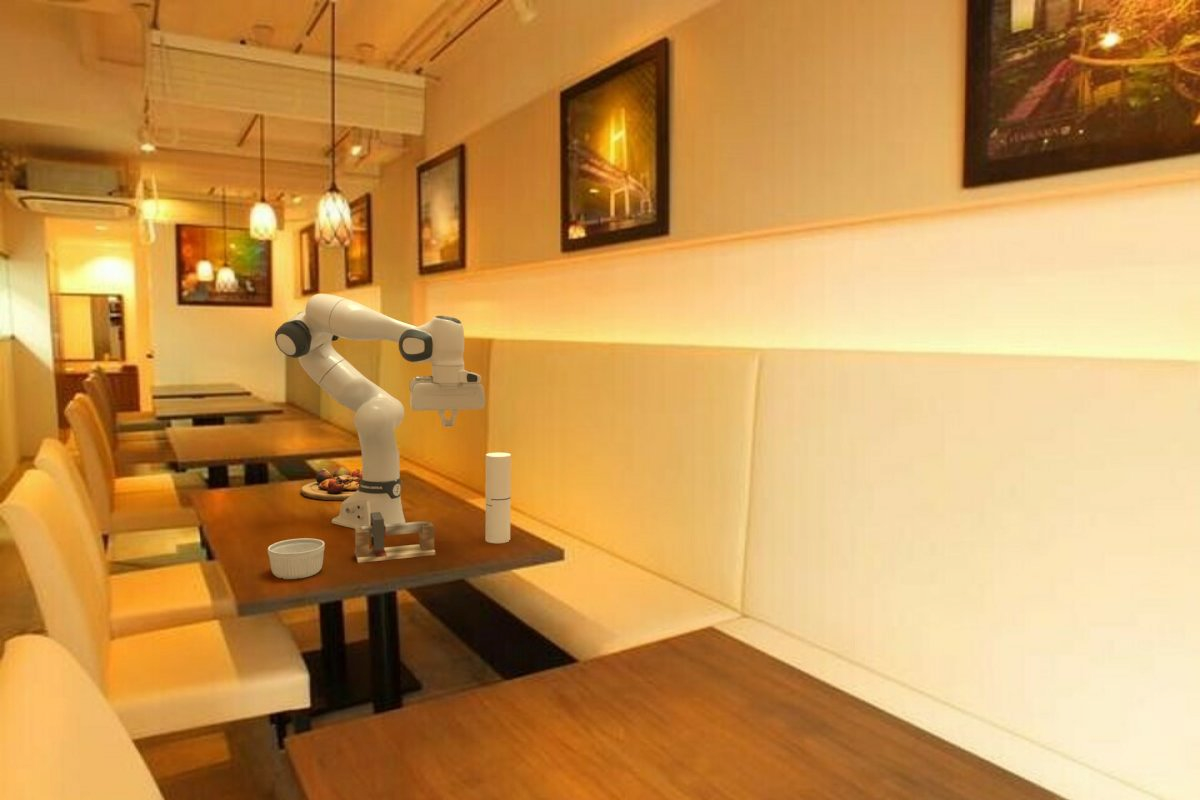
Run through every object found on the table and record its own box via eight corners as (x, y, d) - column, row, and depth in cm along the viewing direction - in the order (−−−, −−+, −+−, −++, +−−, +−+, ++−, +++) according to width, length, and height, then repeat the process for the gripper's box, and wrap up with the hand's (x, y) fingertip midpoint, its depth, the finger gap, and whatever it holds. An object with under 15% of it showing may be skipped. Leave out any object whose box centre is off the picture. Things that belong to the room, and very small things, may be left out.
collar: (374, 550, 199) (373, 520, 199) (370, 541, 207) (370, 512, 206) (384, 549, 200) (383, 519, 200) (380, 540, 208) (379, 512, 207)
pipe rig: (357, 562, 198) (357, 531, 197) (354, 554, 205) (354, 523, 205) (435, 554, 206) (435, 524, 205) (429, 546, 213) (429, 517, 212)
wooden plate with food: (360, 505, 260) (360, 481, 259) (281, 496, 268) (281, 473, 268) (409, 488, 290) (409, 466, 289) (336, 480, 299) (337, 460, 298)
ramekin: (256, 576, 186) (255, 549, 186) (295, 561, 199) (294, 535, 198) (299, 584, 182) (298, 556, 181) (336, 568, 194) (336, 541, 193)
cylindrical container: (505, 544, 217) (506, 457, 214) (481, 542, 218) (482, 456, 216) (513, 537, 224) (514, 453, 221) (490, 535, 225) (490, 451, 223)
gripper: (411, 377, 202) (411, 429, 203) (487, 376, 210) (486, 426, 211) (407, 375, 207) (407, 425, 209) (481, 374, 215) (481, 423, 217)
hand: (448, 426), depth 210 cm, fingers closed
